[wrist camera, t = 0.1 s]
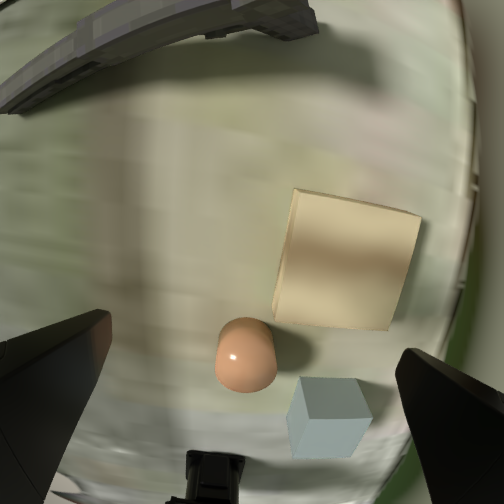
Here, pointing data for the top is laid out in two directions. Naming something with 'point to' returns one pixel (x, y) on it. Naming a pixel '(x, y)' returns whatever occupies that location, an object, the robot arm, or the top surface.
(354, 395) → the blue-grey cube
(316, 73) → the top surface
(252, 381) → the orange-tan rounded lump
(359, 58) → the top surface
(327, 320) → the beech slab
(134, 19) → the handgun
